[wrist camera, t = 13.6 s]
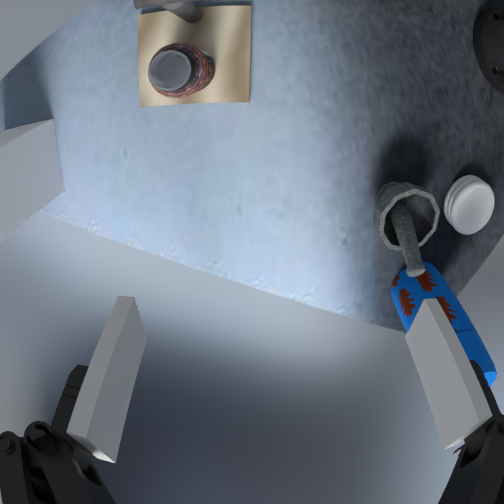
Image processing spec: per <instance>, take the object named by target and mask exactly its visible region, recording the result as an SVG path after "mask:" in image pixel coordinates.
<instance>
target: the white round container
mask: <svg viewBox="0 0 504 504" xmlns="http://www.w3.org/2000/svg"><path fill="white" fill-rule="evenodd" d="M493 209H494V194H493V191H492V189H491V187H490V186H489V185H488V184H487V183H486V182H484V181H483V180H481V179H480V178H479V177H477V176H474V175H466V176H463V177H461V178H459V179H458V180H457V181H455V182H454V183H453V185H452V186H451V187H450V189H449V191H448V192H447V195H446V198H445V201H444V213H445V217H446V219H447V221H448V222H449V223H450V224H451V225H452V226H453V227H454V229H455V230H456V231H458V232H459V233H461V234H466V235H468V234H473V233H475V232H477V231H479V230H480V229H481V228H483V227H484V226H485V224H486V223H487V222H488V220H489V219H490V217H491V215H492V212H493Z"/></svg>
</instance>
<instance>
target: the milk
mask: <svg viewBox="0 0 504 504" xmlns="http://www.w3.org/2000/svg"><path fill="white" fill-rule="evenodd" d="M63 191H65V188H64V183H63V178H62V172H61V167H60V161H59V155H58V148H57V141H56V134H55V125H54V119H50V120H45V121H40V122H36V123H31V124H27V125H23V126H19V127H15V128H11V129H7V130H5V131H3V132H1V133H0V243H1V242H2V241H3V240H4V239H6V238H7V237H8V236H9V235H10V234H11V233H12V232H14V231H15V230H16V229H17V228H18V227H19V226H21V225H22V224H23V223H24V222H25V221H26V220H28V219H29V218H30V217H31V216H32V215H34V214H35V213H36V212H37V211H39V210H40V209H41V208H42V207H44V206H45V205H46V204H47V203H49V202H50V201H51V200H53V199H54V198H55V197H57V196H58V195H59V194H61V193H62V192H63Z"/></svg>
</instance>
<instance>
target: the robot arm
mask: <svg viewBox="0 0 504 504" xmlns="http://www.w3.org/2000/svg"><path fill="white" fill-rule="evenodd" d="M474 48H475V53H476V57H477V60H478V63H479V66H480V68H481V70H482V72H483V74H484V76H485V77H486V79H487V80H488V82H489V83H490V84H491V85H492V86H493V87H494V88H495V89H496V90H497V91H499V92H500V93H502V94H504V10H487V11H485V12H483V13H482V14H481V15H480V16H479V17H478V19H477V21H476V23H475V27H474ZM405 339H406V342H407V344H408V347H409V349H410V352H411V354H412V357H413V359H414V362H415V365H416V367H417V370H418V373H419V376H420V378H421V381H422V384H423V387H424V390H425V393H426V396H427V398H428V401H429V404H430V408H431V411H432V414H433V417H434V420H435V423H436V427H437V430H438V433H439V436H440V440H441V444H442V447H443V450H444V449H447V448H449V447H452V446H455V445H457V444H459V443H460V442H461V441H462V440H464V441H465V444H464V445H462V446H461V447H460V448H458V449H457V450H456V451H455V452H454V453H453V455H456V454H457V453H459V452H460V454H459V455H458V456H457V457H458V459H457V462H456V464H455V467H454V469H453V472H452V474H451V477H450V479H449V481H448V484H447V486H446V488H445V490H444V492H443V495H442V497H441V499H440V501H439V503H438V504H504V415H502V414H501V412H500V410H499V408H498V406H497V403H496V400H495V398H494V396H493V393H492V391H491V389H490V386H488V382H487V379H485V375H484V373H483V371H482V369H481V367H480V366H479V365H478V363H477V362H476V361H475V360H474V359H473V360H469V359H468V357H467V355H466V353H465V351H464V349H463V347H462V345H461V343H460V341H459V339H458V337H457V335H456V333H455V331H454V329H453V328H452V326H451V324H450V322H449V320H448V318H447V316H446V315H445V313H444V311H443V309H442V307H441V306H440V304H439V302H438V300H437V299H436V298H435V299H424V300H423V303H422V305H421V307H420V309H419V311H418V313H417V315H416V317H415V319H414V321H413V323H412V325H411V327H410V329H409V331H408V332H407V334H406V336H405ZM146 340H147V336H146V333H145V330H144V327H143V324H142V321H141V318H140V315H139V311H138V308H137V305H136V302H135V298H134V297H124V296H118V298H117V301H116V303H115V305H114V308H113V310H112V312H111V314H110V316H109V319H108V321H107V323H106V325H105V328H104V330H103V333H102V335H101V337H100V340H99V342H98V345H97V347H96V350H95V352H94V355H93V357H92V360H91V362H90V365H89V367H88V366H83V365H77V366H76V367H75V368H74V370H73V371H72V372H71V373H70V375H69V377H68V380H67V382H66V387H65V388H64V390H63V393H62V396H61V398H60V401H59V403H58V406H57V409H56V412H55V415H54V418H53V420H52V424H51V426H49V425H48V424H47V423H45V422H41V421H36V422H33V423H31V424H30V425H28V427H27V428H26V430H25V433H24V437H18V436H17V435H15V434H14V433H13V432H10V431H6V432H3V433H2V434H0V491H1V497H2V502H3V504H116V503H115V501H114V499H113V498H112V496H111V494H110V493H109V491H108V489H107V487H106V486H105V484H104V482H103V481H102V479H101V477H100V475H99V473H98V471H97V469H96V468H95V466H94V464H93V462H92V461H91V459H92V455H94V456H96V457H97V458H98V459H102V460H106V461H110V462H113V463H116V458H117V454H118V449H119V444H120V440H121V435H122V431H123V427H124V422H125V418H126V414H127V410H128V406H129V402H130V398H131V394H132V390H133V387H134V383H135V379H136V375H137V372H138V368H139V364H140V361H141V358H142V354H143V351H144V347H145V344H146Z"/></svg>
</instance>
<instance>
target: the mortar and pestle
mask: <svg viewBox="0 0 504 504" xmlns="http://www.w3.org/2000/svg"><path fill="white" fill-rule="evenodd" d="M374 207H375V214H374V226H375V229H376V230H377V232H378V234H379V235H380V237H381V238H382V240H383V241H384V243H385V244H386V246H387V247H388V248H389V249H394V250H398V251H402V253H403V256H404V259H405V262H406V265H407V269H406V272H407V275H408V276H410V277H415V276H419V275H421V274H423V273H424V272H425V271H426V268H425V265H424V264H423V263H422V259H421V254H420V249H419V246H422V245H423V244H424V243H425V242H426V241H427V240H428V238H429V237H430V236H431V235H432V234H433V233H434V231H435V230H436V227H437V223H438V218H439V213H440V210H439V208H438V205H437V203H436V201H435V199H434V197H433V195H432V194H431V193H430V192H429V191H428V190H426V189H424V188H422V187H420V186H417V185H414V184H411V183H409V182H402V183H398V182H395V181H393V182H390V183H387V184H384V185H382V187H381V188H380V189H379V190H378V192H377V193H376V194H375V202H374Z"/></svg>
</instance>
